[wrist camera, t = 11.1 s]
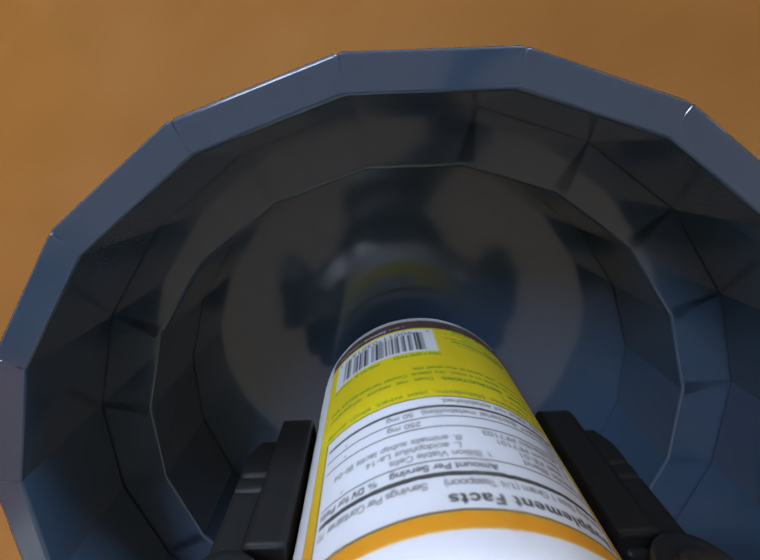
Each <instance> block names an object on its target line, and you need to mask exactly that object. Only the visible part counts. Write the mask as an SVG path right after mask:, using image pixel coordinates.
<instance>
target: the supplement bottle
mask: <svg viewBox="0 0 760 560" xmlns="http://www.w3.org/2000/svg"><path fill="white" fill-rule="evenodd" d="M292 560H622V559H621V557H620V556H619V554H618V552H617V551H616V549H615V547H614V546H613V544H612V542H611V541H610V539H609V538H608V536H607V534H606V533H605V531H604V529H603V528H602V526H601V524H600V523H599V521H598V520H597V518H596V516H595V515H594V513H593V511H592V510H591V508H590V507H589V505H588V503H587V502H586V500H585V498H584V497H583V495H582V493H581V492H580V490H579V488H578V487H577V485H576V483H575V482H574V480H573V478H572V477H571V475H570V473H569V472H568V470H567V469H566V467H565V466H564V464H563V462H562V461H561V459H560V458H559V456H558V454H557V453H556V451H555V449H554V448H553V446H552V444H551V443H550V441H549V439H548V438H547V436H546V434H545V433H544V431H543V429H542V428H541V426H540V425H539V423H538V421H537V420H536V418H535V416H534V415H533V413H532V412H531V410H530V408H529V407H528V405H527V403H526V402H525V400H524V398H523V397H522V395H521V394H520V392H519V390H518V389H517V387H516V385H515V384H514V382H513V380H512V379H511V377H510V375H509V374H508V372H507V371H506V369H505V367H504V365H503V364H502V362H501V361H500V360H499V358H498V357H497V356H496V354H495V353H494V352H493V351H492V349H491V348H490V347H489V346H488V345H487V344H486V343H485V342H484V341H483V340H481V339H480V338H479V337H477V336H476V335H475V334H473V333H471V332H470V331H468V330H466V329H465V328H462V327H460V326H458V325H455V324H453V323H450V322H446V321H442V320H438V319H430V318H409V319H401V320H397V321H393V322H389V323H386V324H384V325H381V326H379V327H377V328H374V329H373V330H371V331H369V332H367V333H365V334H364V335H363V336H361V337H360V338H359V339H357V340H356V341H355V342H354V343H353V344H351V345H350V346H349V348H348V349H347V350H346V351H345V352H344V353H343V354H342V356H341V357H340V358H339V360H338V361H337V363H336V365H335V366H334V368H333V370H332V372H331V375H330V377H329V380H328V384H327V387H326V391H325V396H324V401H323V405H322V410H321V416H320V421H319V426H318V431H317V436H316V441H315V446H314V451H313V456H312V461H311V466H310V471H309V476H308V482H307V487H306V493H305V498H304V504H303V509H302V514H301V519H300V524H299V529H298V534H297V539H296V544H295V549H294V554H293V559H292Z"/></svg>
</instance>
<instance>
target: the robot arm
mask: <svg viewBox="0 0 760 560" xmlns="http://www.w3.org/2000/svg"><path fill="white" fill-rule="evenodd" d="M535 418H536V420H537V421H538V423H539V425H540V426H541V428H542V429H543V431H544V433H545V434H546V436H547V438H548V439H549V441H550V443H551V444H552V446H553V448H554V449H555V451H556V453H557V454H558V456H559V458H560V459H561V461H562V462H563V464H564V466H565V467H566V469H567V470H568V472H569V473H570V475H571V477H572V478H573V480H574V482H575V483H576V485H577V487H578V488H579V490H580V492H581V493H582V495H583V497H584V498H585V500H586V502H587V503H588V505H589V507H590V508H591V510H592V511H593V513H594V515H595V516H596V518H597V520H598V521H599V523H600V524H601V526H602V528H603V529H604V531H605V533H606V534H607V536H608V538H609V539H610V541H611V542H612V544H613V546H614V547H615V549H616V551H617V552H618V554H619V556H620V557H621V559H622V560H733V559H732V558H731V557H730V556H729V555H727V554H726V553H725V552H723V551H722V550H721V549H719V548H718V547H716V546H715V545H713V544H711V543H709V542H707V541H705V540H703V539H701V538H698V537H696V536H693V535H690V534H686V533H685V532H684V531H683V529H682V528H681V527H680V526H679V524H678V523H677V522H676V521H675V519H674V518H673V517H672V516H671V515H670V513H669V512H668V511H667V510H666V508H665V507H664V506H663V505H662V503H661V502H660V501H659V500H658V498H657V497H656V496H655V495H654V493H653V492H652V491H651V490H650V489H649V487H648V486H647V485H646V484H645V482H644V481H643V480H642V479H641V478H640V479H639V476H638V474H637V472H636V471H635V470H634V469H633V467H632V466H631V465H630V464H628V463H627V460H626V459H625V458H624V456H623V455H622V454H621V453H620V451H619V450H618V449H617V448H616V446H615V445H614V444H613V443H611V442H610V441H608V440H607V439H606V438H604V437H603V436H601V435H600V434H598V433H597V432H596V431H594V430H587V431H585V430H584V429H583V428H582V426H581V425H580V423H579V422H578V421H577V419H576V418H575V417H574V415H573V414H572V413H571V412H570V411H568V410H559V411H538V412H537V413H536V415H535ZM315 441H316V427H315V422H314V420H293V421H284V422H283V425H282V428H281V431H280V434H279V437H278V440H277V442H270V443H262V444H261V445H260V446H259V447H258V448H257V449H256V450H255V451H254V452H253V453H252V454H251V455H250V456H249V457H248V459H247V461H246V464H245V466H244V469H243V471H242V474H241V479H239V481H238V484H237V486H236V488H235V494H233V496H232V498H231V501H230V503H229V506H228V508H227V511H226V513H225V516H224V518H223V521H222V523H221V526H220V528H219V530H218V533H217V535H216V538H215V540H214V543H213V545H212V548H211V550H210V553H209V555H208V556H206V557H205V558H203V559H201V560H292V559H293V554H294V549H295V544H296V539H297V534H298V529H299V524H300V519H301V514H302V509H303V504H304V498H305V493H306V487H307V482H308V476H309V471H310V466H311V461H312V456H313V451H314V446H315Z"/></svg>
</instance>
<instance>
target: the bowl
mask: <svg viewBox="0 0 760 560" xmlns="http://www.w3.org/2000/svg"><path fill="white" fill-rule="evenodd" d="M409 318H430V319H438V320H442V321H446V322H450V323H453V324H455V325H458V326H460V327H462V328H465V329H466V330H468V331H470V332H471V333H473V334H475V335H476V336H477V337H479V338H480V339H481V340H483V341H484V342H485V343H486V344H487V345H488V346H489V347H490V348H491V349H492V351H493V352H494V353H495V354H496V356H497V357H498V358H499V360H500V361H501V362H502V364H503V365H504V367H505V369H506V371H507V372H508V374H509V375H510V377H511V379H512V380H513V382H514V384H515V385H516V387H517V389H518V390H519V392H520V394H521V395H522V397H523V398H524V400H525V402H526V403H527V405H528V407H529V408H530V410H531V412H532V413H533V415H534V416H535V415H536V413H537V412H538V411H559V410H568V411H570V412H571V413H572V414H573V415H574V417H575V418H576V419H577V421H578V422H579V423H580V425H581V426H582V428H583V429H584V430H585V431H587V430H594V431H596V432H597V433H598V434H600V435H601V436H603V437H604V438H606V439H607V440H608V441H610V442H611V443H613V444H614V445H615V446H616V448H617V449H618V450H619V451H620V453H621V454H622V455H623V456H624V458H625V459H626V460H627V463H628V464H630V465H631V466H632V467H633V469H634V470H635V471H636V472H637V474H638V476H639V479H640V478H641V479H642V480H643V481H644V482H645V484H646V485H647V486H648V487H649V489H650V490H651V491H652V492H653V493H654V495H655V496H656V497H657V498H658V500H659V501H660V502H661V503H662V505H663V506H664V507H665V508H666V510H667V511H668V512H669V513H670V515H671V516H672V517H673V518H674V519H675V521H676V522H677V523H678V524H679V526H680V527H681V528H682V529H683V531H684V532H685V533H686V534H690V535H693V536H696V537H698V538H701V539H703V540H705V541H707V542H709V543H711V544H713V545H715V546H716V547H718V548H719V549H721V550H722V551H723V552H725V553H726V554H727V555H729V556H730V557H731V558H732V559H733V560H760V161H759V160H758V159H757V158H756V157H754V156H753V155H752V154H751V153H750V152H749V151H748V150H746V149H745V148H744V147H743V146H742V145H741V144H740V143H738V142H737V141H736V140H735V139H734V138H733V137H732V136H730V135H729V134H728V133H727V132H726V131H725V130H724V129H722V128H721V127H720V126H719V125H718V124H717V123H716V122H714V121H713V120H712V119H711V118H710V117H709V116H707V115H706V114H705V113H704V112H703V111H702V110H701V109H699V108H698V107H697V106H696V105H695V104H690V102H689V101H687V100H684V99H681V98H679V97H676V96H673V95H670V94H667V93H664V92H661V91H658V90H655V89H652V88H649V87H646V86H643V85H640V84H637V83H634V82H631V81H628V80H625V79H622V78H619V77H616V76H613V75H610V74H607V73H605V72H602V71H599V70H596V69H593V68H590V67H587V66H584V65H581V64H578V63H575V62H572V61H569V60H566V59H563V58H560V57H557V56H554V55H551V54H548V53H545V52H542V51H539V50H536V49H534V48H531V47H526V48H524V46H521V45H516V46H487V47H458V48H429V49H400V50H371V51H342V52H339V53H338V55H337V54H331V55H329V56H326V57H324V58H321V59H319V60H316V61H314V62H311V63H309V64H306V65H304V66H301V67H299V68H296V69H294V70H292V71H289V72H287V73H284V74H282V75H279V76H277V77H274V78H272V79H269V80H267V81H264V82H262V83H259V84H257V85H255V86H252V87H250V88H247V89H245V90H242V91H240V92H237V93H235V94H232V95H230V96H227V97H225V98H222V99H220V100H218V101H215V102H213V103H210V104H208V105H205V106H203V107H200V108H198V109H195V110H193V111H190V112H188V113H185V114H183V115H181V116H178V117H176V118H174V119H173V120H172V121H171V122H166V123H165V124H164V125H163V126H162V127H161V128H160V129H158V130H157V131H156V132H155V133H154V134H153V135H152V136H151V137H150V138H149V139H148V140H147V141H146V142H145V143H144V144H142V145H141V146H140V147H139V148H138V149H137V150H136V151H135V152H134V153H133V154H132V155H131V156H130V157H129V158H127V159H126V160H125V161H124V162H123V163H122V164H121V165H120V166H119V167H118V168H117V169H116V170H115V171H114V172H112V173H111V174H110V175H109V176H108V177H107V178H106V179H105V180H104V181H103V182H102V183H101V184H100V185H99V186H97V187H96V188H95V189H94V190H93V191H92V192H91V193H90V194H89V195H88V196H87V197H86V198H85V199H84V200H83V201H81V202H80V203H79V204H78V205H77V206H76V207H75V208H74V209H73V210H72V211H71V212H70V213H69V214H68V215H66V216H65V217H64V218H63V219H62V220H61V221H60V222H59V223H58V224H57V225H56V226H55V227H54V228H53V229H52V230H51V233H50V234H49V235H48V238H47V240H46V242H45V244H44V246H43V249H42V251H41V253H40V255H39V257H38V260H37V262H36V264H35V266H34V268H33V271H32V273H31V275H30V277H29V279H28V282H27V284H26V286H25V288H24V290H23V293H22V295H21V297H20V299H19V301H18V304H17V306H16V308H15V310H14V313H13V315H12V317H11V319H10V321H9V324H8V326H7V328H6V330H5V332H4V335H3V337H2V339H1V341H0V503H1V506H2V508H3V511H4V514H5V516H6V519H7V522H8V524H9V527H10V529H11V532H12V535H13V537H14V540H15V542H16V545H17V548H18V550H19V553H20V555H21V558H22V560H201V559H203V558H205V557H206V556H208V555H209V553H210V550H211V548H212V545H213V543H214V540H215V538H216V535H217V533H218V530H219V528H220V526H221V523H222V521H223V518H224V516H225V513H226V511H227V508H228V506H229V503H230V501H231V498H232V496H233V494H235V488H236V486H237V484H238V481H239V479H241V474H242V471H243V469H244V466H245V464H246V461H247V459H248V457H249V456H250V455H251V454H252V453H253V452H254V451H255V450H256V449H257V448H258V447H259V446H260V445H261V444H262V443H270V442H277V440H278V437H279V434H280V431H281V428H282V425H283V422H284V421H293V420H314V422H315V427H316V436H317V431H318V426H319V421H320V416H321V410H322V405H323V401H324V396H325V391H326V387H327V384H328V380H329V377H330V375H331V372H332V370H333V368H334V366H335V365H336V363H337V361H338V360H339V358H340V357H341V356H342V354H343V353H344V352H345V351H346V350H347V349H348V348H349V346H350V345H351V344H353V343H354V342H355V341H356V340H357V339H359V338H360V337H361V336H363V335H364V334H365V333H367V332H369V331H371V330H373V329H374V328H377V327H379V326H381V325H384V324H386V323H389V322H393V321H397V320H401V319H409Z"/></svg>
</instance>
